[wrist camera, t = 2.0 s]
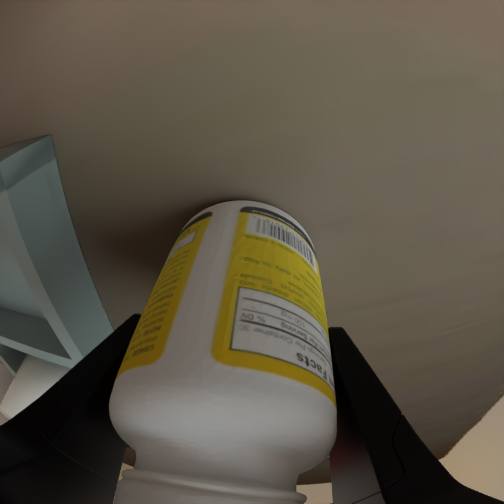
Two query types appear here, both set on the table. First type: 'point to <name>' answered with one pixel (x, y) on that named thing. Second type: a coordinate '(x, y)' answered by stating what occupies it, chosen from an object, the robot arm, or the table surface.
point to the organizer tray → (42, 265)
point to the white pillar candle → (30, 384)
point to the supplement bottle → (228, 366)
